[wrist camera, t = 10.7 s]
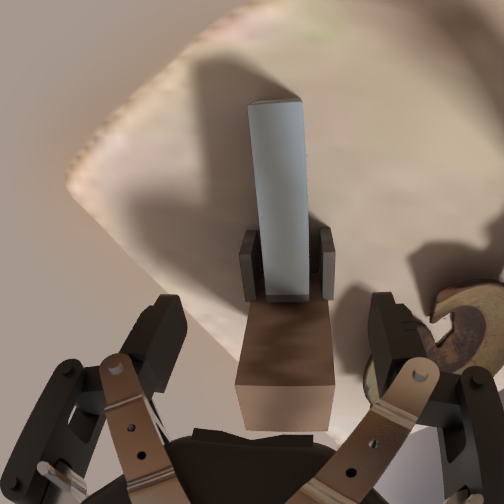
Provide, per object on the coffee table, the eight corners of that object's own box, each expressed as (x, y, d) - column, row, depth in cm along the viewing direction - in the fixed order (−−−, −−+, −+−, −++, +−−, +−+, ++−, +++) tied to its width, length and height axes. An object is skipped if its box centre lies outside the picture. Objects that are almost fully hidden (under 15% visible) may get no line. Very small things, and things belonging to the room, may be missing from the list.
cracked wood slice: (321, 327, 36) (324, 379, 30) (535, 202, 25) (575, 234, 18) (386, 407, 44) (392, 447, 37) (545, 320, 32) (566, 354, 26)
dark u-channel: (330, 227, 30) (350, 334, 18) (327, 323, 36) (333, 430, 24) (246, 230, 31) (214, 335, 19) (257, 324, 37) (240, 429, 25)
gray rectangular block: (300, 97, 24) (302, 101, 19) (307, 263, 32) (309, 301, 27) (256, 100, 25) (247, 105, 20) (271, 264, 33) (266, 302, 27)
